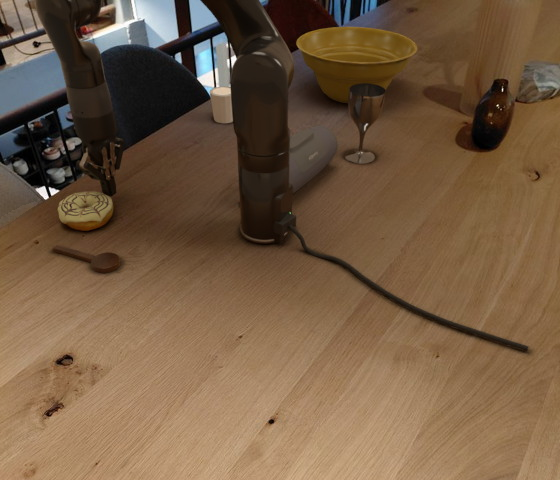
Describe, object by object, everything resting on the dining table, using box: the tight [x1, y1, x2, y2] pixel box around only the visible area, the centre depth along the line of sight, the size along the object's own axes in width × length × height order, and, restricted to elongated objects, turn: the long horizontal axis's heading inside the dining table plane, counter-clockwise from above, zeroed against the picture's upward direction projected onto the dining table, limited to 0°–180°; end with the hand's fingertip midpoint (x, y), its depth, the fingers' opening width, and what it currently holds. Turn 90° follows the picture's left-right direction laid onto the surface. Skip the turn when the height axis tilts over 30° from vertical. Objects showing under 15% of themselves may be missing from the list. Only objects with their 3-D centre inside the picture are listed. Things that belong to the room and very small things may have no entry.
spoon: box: [52, 244, 121, 274], centre depth 104 cm, size 14×5×1 cm, turn 67°
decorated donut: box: [57, 190, 115, 232], centre depth 113 cm, size 10×11×4 cm
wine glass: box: [344, 83, 387, 164], centre depth 129 cm, size 8×8×15 cm
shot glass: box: [209, 86, 233, 124], centre depth 146 cm, size 7×7×7 cm
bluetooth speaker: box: [289, 124, 339, 194], centre depth 122 cm, size 23×9×10 cm, turn 149°
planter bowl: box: [295, 26, 418, 104], centre depth 157 cm, size 32×32×13 cm
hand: (110, 194), depth 117 cm, fingers closed
